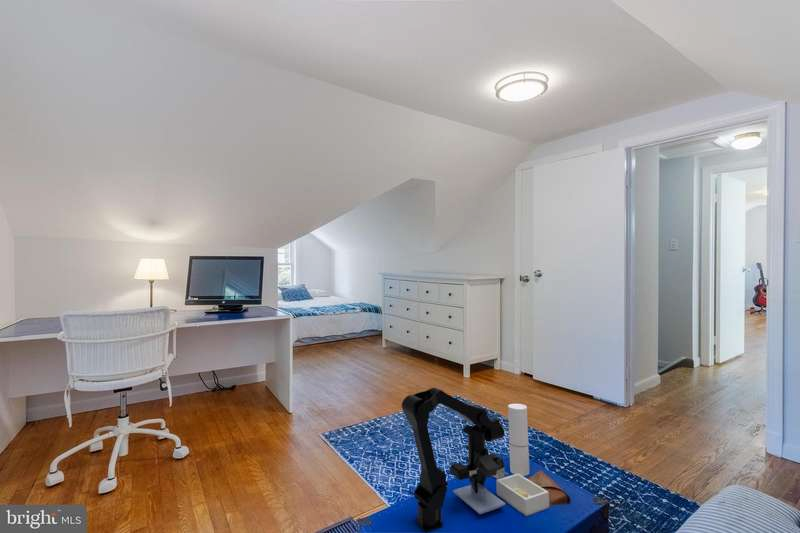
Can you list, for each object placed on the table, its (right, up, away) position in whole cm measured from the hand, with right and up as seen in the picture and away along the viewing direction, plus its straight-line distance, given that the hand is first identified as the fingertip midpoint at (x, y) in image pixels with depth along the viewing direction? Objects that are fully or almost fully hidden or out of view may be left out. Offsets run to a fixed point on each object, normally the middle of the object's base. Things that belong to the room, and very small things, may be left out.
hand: (478, 492), depth 127 cm
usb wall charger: (+12, -5, +17) cm, 21 cm away
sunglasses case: (+25, -4, +7) cm, 27 cm away
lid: (0, -3, 0) cm, 3 cm away
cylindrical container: (+21, -5, +22) cm, 30 cm away
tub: (+15, -4, +1) cm, 16 cm away
